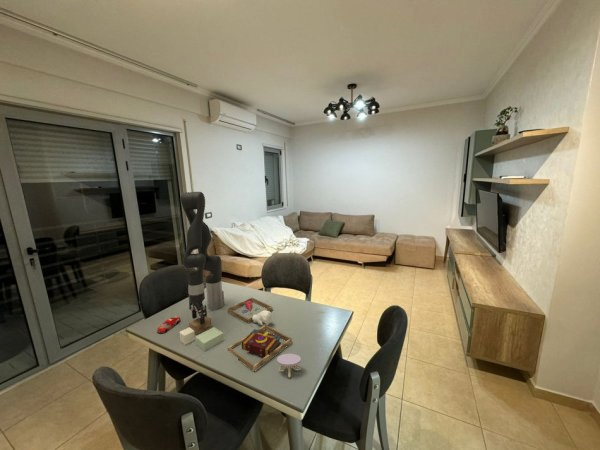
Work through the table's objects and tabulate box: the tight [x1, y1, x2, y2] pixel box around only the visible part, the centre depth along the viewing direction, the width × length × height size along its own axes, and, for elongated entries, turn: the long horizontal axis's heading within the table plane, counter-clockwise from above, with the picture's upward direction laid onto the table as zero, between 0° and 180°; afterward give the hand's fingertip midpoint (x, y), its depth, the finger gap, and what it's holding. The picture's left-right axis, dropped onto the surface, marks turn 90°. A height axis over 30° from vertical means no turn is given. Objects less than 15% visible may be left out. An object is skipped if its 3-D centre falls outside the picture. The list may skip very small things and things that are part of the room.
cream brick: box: [179, 326, 196, 345], centre depth 119 cm, size 5×5×6 cm
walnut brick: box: [188, 315, 213, 336], centre depth 129 cm, size 9×6×6 cm, turn 143°
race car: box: [157, 315, 181, 334], centre depth 133 cm, size 13×5×4 cm, turn 162°
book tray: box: [227, 324, 293, 372], centre depth 115 cm, size 24×19×2 cm
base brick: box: [194, 326, 224, 351], centre depth 117 cm, size 10×8×4 cm
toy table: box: [276, 353, 302, 378], centre depth 101 cm, size 10×9×6 cm
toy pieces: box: [241, 301, 260, 316], centre depth 149 cm, size 12×11×4 cm
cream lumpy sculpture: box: [251, 309, 273, 326], centre depth 134 cm, size 6×8×12 cm
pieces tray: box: [227, 297, 273, 325], centre depth 148 cm, size 19×20×2 cm
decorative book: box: [241, 329, 282, 358], centre depth 115 cm, size 11×16×5 cm
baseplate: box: [191, 337, 228, 355], centre depth 118 cm, size 12×12×1 cm
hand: (198, 320), depth 127 cm, fingers open, 8 cm apart
